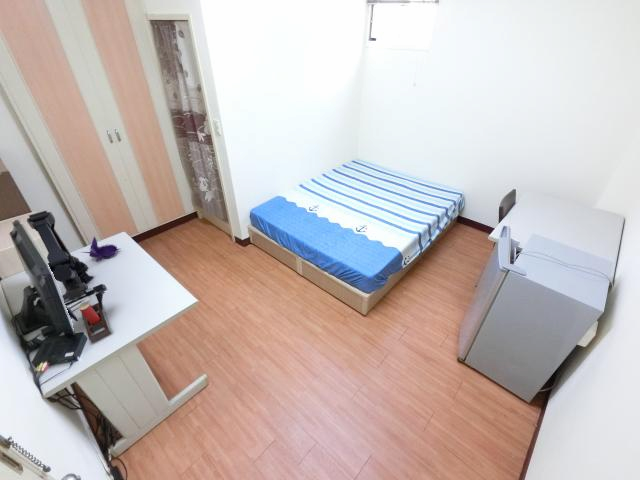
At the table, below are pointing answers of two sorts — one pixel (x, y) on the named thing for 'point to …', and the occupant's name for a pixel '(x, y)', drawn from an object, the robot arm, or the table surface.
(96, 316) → the red cylinder
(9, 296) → the table surface
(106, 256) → the creature
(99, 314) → the brown wooden rack
